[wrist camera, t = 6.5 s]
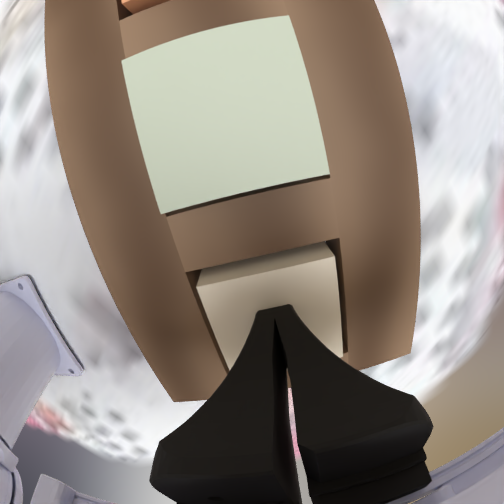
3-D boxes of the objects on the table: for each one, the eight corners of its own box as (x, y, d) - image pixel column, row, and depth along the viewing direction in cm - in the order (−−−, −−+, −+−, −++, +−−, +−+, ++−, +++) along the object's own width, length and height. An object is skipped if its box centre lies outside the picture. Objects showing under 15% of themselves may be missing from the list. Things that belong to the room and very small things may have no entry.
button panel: (181, 371, 16) (173, 401, 13) (70, -22, 6) (49, -37, 4) (392, 326, 15) (410, 353, 12) (299, -84, 5) (306, -108, 3)
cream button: (235, 344, 14) (233, 379, 12) (205, 258, 12) (196, 287, 10) (330, 324, 14) (343, 356, 11) (318, 233, 12) (335, 256, 9)
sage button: (179, 197, 10) (160, 214, 8) (148, 76, 8) (121, 60, 6) (310, 166, 10) (329, 174, 8) (279, 42, 8) (288, 15, 6)
